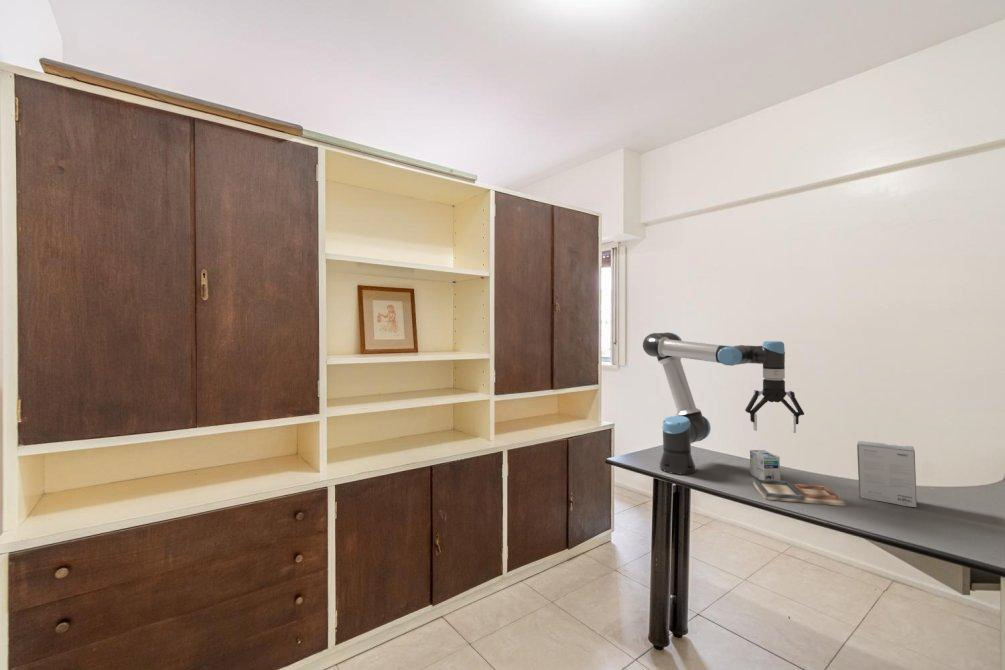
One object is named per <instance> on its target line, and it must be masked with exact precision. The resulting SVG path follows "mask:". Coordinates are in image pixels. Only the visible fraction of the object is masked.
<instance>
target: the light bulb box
mask: <svg viewBox="0 0 1005 670" xmlns="http://www.w3.org/2000/svg"><path fill="white" fill-rule="evenodd" d="M780 463H781V462H780V456H779V455H776V454H774V453H771V452H769V451H767V450H765V449H750V450H749V464H750V465H749V466H750V467H749V469H750V475H751V476H753V477H754V476H755V477H754V478H755V479H761V480H775V481H781V469H780V468H781V467H780V466H781V464H780Z"/></svg>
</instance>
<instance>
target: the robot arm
mask: <svg viewBox="0 0 1005 670" xmlns="http://www.w3.org/2000/svg"><path fill="white" fill-rule="evenodd" d="M642 349H643V351H644V352H645V353H646V354H647V355H648V356H650V357H655V358H656V359H657V361H658V363H660V364H661V365H662V367H663V370H664V372H665V373H664V374H665V377H666V380H667V383H668V385H669V390H670V393H671V397H672V398H673V401H674V404H675V408H676V411H677V412H676V414H675V415H674V416H673V415H671V416H668V417H666V418H664V419H663V422H662V427H661V428H662V441H663V442H662V446H663V449H662V451H663V452H662V455H661V457H660V461H659V469H660V468H661V469H663V470H665V471H668V472H672V473H681V474H680V475H691V474H690V473H692V474H695V473H696V463H695V461H694V459H693V455H692V448H691V446H692V444H693V443H696V442H701V441H703V440H704V439H707V438H708V436H709V435H710V433H711V429H712V428H711V423H710V421H709V419H708V418H707V417H705V416H704V415H703V413H702V411H701V410H700V409H699V408H697V407H696V404H695V400H694V397H693V394H692V391H691V389H690V385H689V382H688V380H687V376H686V373H685V369H684V367H683V363H682V360H681V359H689V360H697V361H704V362H709V363H711V362H712V363H718V364H722V365H724V366H731V367H732V366H738V365H745V364H757V365H762V377H763V378H764V379H763V380H762V390H757V389H755V390H753V395H752V397H751V399H750V401H749V403H748V404H747V406H746V407H745V409H744V411H745V412H746V413H748V414H750V415H749V416H750V419H749V420H750V422H752V427H753V431H755V432H756V431H758V415H757V412H758V411H759V410H760V409H761V408H762V407H763V406H765V404H767V403H768V402H770V403H774V402H775V403H780V402H781V403H782V404H783V405H784V407H786V408H787V409H788V410H789V411H790V412H791V414H793V415H791V417H790V421H791V423H790V424H791V425H790V426H791V429H790V430H791V432H792V433H793V434H796V433H797V427H796V426H797V425H799V421H800V420H799V418H800V417H801V416H804V415H805V412H804V410H803V408H802V407H801V405H800V403H799V402H798V399H797V398H796V394H795V391H792V390H789V391H786V381H785V380H784V379H786V373H785V371H786V370H785V369H786V367H785V362H786V360H785V358H786V350H785V344H784V342H783V341H779V340H777V341H776V340H772V341H771V340H764V341H763V342H762V345H745V344H744V345H742V344H740V345H732V346H731V345H721V344H713V343H712V344H711V343H705V342H704V343H703V342H696V341H695V342H694V341H685V340H682V338H681V337H680V335H678V334H676V333H674V332H673V333H672V332H666V331H665V332H652V333H650V334H647V336H645V338H644V339H643V342H642ZM761 395H762V399H761V400H760V401H759V402H758V403H756V401H757V400H758V398H759V397H760V396H761ZM786 396H787V397H789V398H790V400H791V402H792V404H793V405H794V407H795V408H793V406H791V405H790V403H788V401H787V400H786V399H785V397H786ZM755 404H756V405H755ZM661 469H660V470H661ZM663 470H662V471H663ZM665 471H664V472H665ZM668 472H667V473H668ZM672 473H671V474H672Z"/></svg>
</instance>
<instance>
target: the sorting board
mask: <svg viewBox="0 0 1005 670" xmlns="http://www.w3.org/2000/svg"><path fill="white" fill-rule="evenodd" d="M752 485H753V486H754V488H755V489H757V491H758V492H759V493H760V495H761V496H762V497H763V498H764V500H770V501H782V502H791V503H792V502H793V503H794V502H795V503H804V504H817V505H827V506H828V505H831V506H840V507H841V506H842V507H847V503H846V502H845V501H844V500H843V499H841V498H840V497H839V496H838V495H837V494H836V493H835V492H833V490H832V489H830V488H829V487H828V486H823V485H816V484H815V485H814V484H802V483H801V484H800V483H795V484H794V483H791V482H790V481H787V480H780V481H775V480H761V479H758V478H754V481H753V483H752Z"/></svg>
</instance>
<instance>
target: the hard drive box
mask: <svg viewBox="0 0 1005 670" xmlns="http://www.w3.org/2000/svg"><path fill="white" fill-rule="evenodd" d="M856 449H857V451H856V452H857V471H858V474H857V475H858V478H857V479H858V497H859V498H862V499H867V500H871V501H876V502H877V501H878V502H883V503H889V504H893V505H898V506H903V507H911V508H914V507H915V508H918V504H917V503H918V501H917V500H918V499H917V498H918V497H917V481H916V480H917V478H916V477H917V476H916V472H917V471H916V451H915V449H914V446H912V445H903V444H893V443H886V442H885V443H884V442H874V441H865V440H857V444H856Z"/></svg>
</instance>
